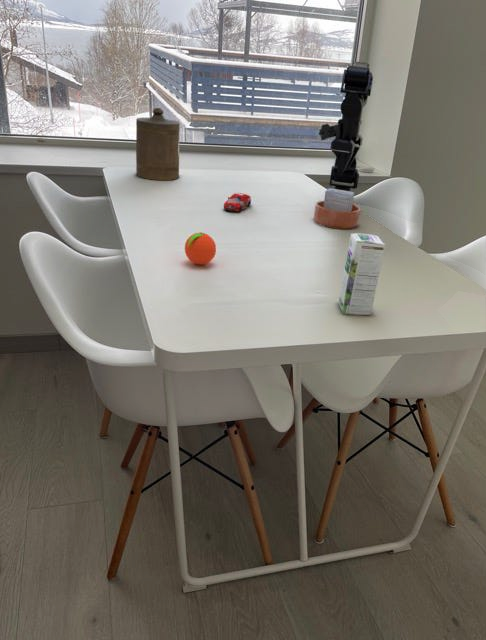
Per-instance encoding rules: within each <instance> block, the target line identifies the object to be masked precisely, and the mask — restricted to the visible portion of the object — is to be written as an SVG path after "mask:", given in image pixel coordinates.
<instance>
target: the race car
mask: <svg viewBox="0 0 486 640" xmlns="http://www.w3.org/2000/svg"><path fill="white" fill-rule="evenodd" d="M251 203H252V197H251V195H249V194H247V193H241V192H234V193H233V194H231V195H230V196H228V197H227V200H226V201H224V203H223V210H225V211H234V212H237V213H241V212H242V210H244V209H246V208H250V206H251Z"/></svg>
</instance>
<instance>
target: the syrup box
mask: <svg viewBox="0 0 486 640" xmlns="http://www.w3.org/2000/svg"><path fill="white" fill-rule="evenodd" d="M385 249H386V243H384V242H383V241H382V239H381V238H380V237H379V236H378V235H375V234H368V233H350V237H349V243H348V249H347V254H346V258H345V265H344V271H343V275H342V281H341V286H340V291H339V297H338V306H339V307H340V310H341V312H342V313H343V314H344V315H357V316H358V315H360V316H371V314H372V310H373V306H374V301H375V298H376V297H375V296H376V293H377V286H378V282H379V277H380V273H381V267H382V262H383V260H384V259H383V258H384V254H385Z"/></svg>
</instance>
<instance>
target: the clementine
mask: <svg viewBox="0 0 486 640" xmlns="http://www.w3.org/2000/svg"><path fill="white" fill-rule="evenodd" d="M216 252H217V247H216V242H215V240H214V239H213V238H212V237H211V236H210V234H207V233H205V232H202V231H201V232H195V233H193V234H191V235H190V236H189V237H188V238H187V239H186V241H185V244H184V253H185V255H186V258H187V259H188V260H189V261H190V262H191V263H193V264H195V265H201V266H202V265H207V264H209V263H210V262H211V261H212V260H213V259H214V258H215V256H216Z"/></svg>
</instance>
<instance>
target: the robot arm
mask: <svg viewBox="0 0 486 640" xmlns="http://www.w3.org/2000/svg"><path fill="white" fill-rule="evenodd" d="M370 70H371V68H370V63H368V62H363V61H355V62H352V64H351V65H347V66H346V69H344V70H343V74H342V80H341V86H340V91H339V92H340V93H341V94H345V95H344V96H343V99H342V101H341V102H340V112H341V113H340V114H341V115H340V118H339V119H338V120H337V123H336V124H333V125H330V124H329V123H325V124H321V127H320V128H319V129H318V131H319V132H318V135H319V137H320V141H326V139H331V138H334V139H333V140H331V142H330V151H331V152H332V153H333V154H334V156H335V159H334V165H331V170H330V177H329V186H330V187H331V186H332V187H333V188H332V189H338V190H344V191H350V192H352V191H351V190H352V189H353V190H355V189H358V185H359V179H360V173H359V169H358V168H357V165H358V164H357V159H356V156H357V154H358V152H359V151H360V149H361V146H363V145H362V144H363V139H364V138H363V137H362V135H361V134H360V129H361V128H360V127H361V125H362V123H363V122H362V114H363V109H364V108H365V106H366V105H367V103H368V98H369V97H371V95H372V94H371V93H372V87H373V81H374V76H373V72H371V71H370Z"/></svg>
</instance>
